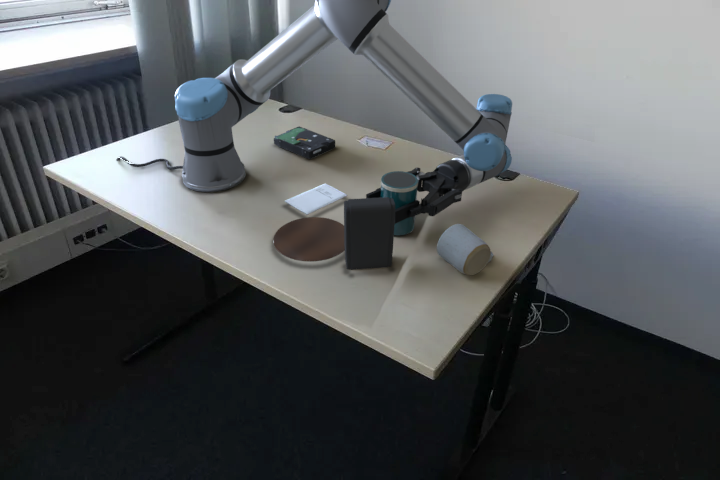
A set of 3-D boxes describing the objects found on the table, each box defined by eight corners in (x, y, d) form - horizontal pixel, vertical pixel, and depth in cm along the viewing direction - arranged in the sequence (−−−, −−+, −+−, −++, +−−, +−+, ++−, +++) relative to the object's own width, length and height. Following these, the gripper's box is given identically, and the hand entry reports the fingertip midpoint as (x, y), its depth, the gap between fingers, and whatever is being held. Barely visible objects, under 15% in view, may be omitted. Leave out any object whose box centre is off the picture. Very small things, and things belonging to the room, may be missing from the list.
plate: (259, 256, 103) (258, 250, 102) (295, 216, 115) (294, 211, 115) (333, 274, 98) (333, 268, 98) (362, 231, 111) (362, 225, 110)
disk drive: (336, 149, 145) (299, 134, 153) (336, 139, 143) (299, 125, 151) (310, 161, 138) (273, 145, 146) (309, 151, 137) (272, 135, 144)
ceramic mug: (463, 283, 97) (469, 250, 92) (433, 261, 102) (438, 229, 98) (501, 264, 102) (509, 232, 97) (471, 245, 107) (477, 213, 103)
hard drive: (284, 206, 119) (324, 188, 126) (307, 220, 114) (347, 200, 121) (283, 200, 118) (324, 182, 125) (306, 213, 113) (347, 194, 120)
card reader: (389, 259, 102) (393, 194, 94) (393, 272, 99) (397, 205, 91) (344, 262, 102) (343, 196, 93) (346, 275, 98) (345, 208, 90)
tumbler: (374, 231, 107) (375, 184, 101) (385, 213, 113) (387, 168, 107) (409, 238, 105) (412, 191, 99) (418, 220, 111) (422, 174, 105)
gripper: (491, 208, 111) (414, 246, 99) (423, 173, 124) (349, 204, 112) (496, 176, 107) (417, 213, 95) (426, 144, 120) (348, 173, 108)
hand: (380, 208), depth 103 cm, fingers closed on tumbler, 7 cm apart
